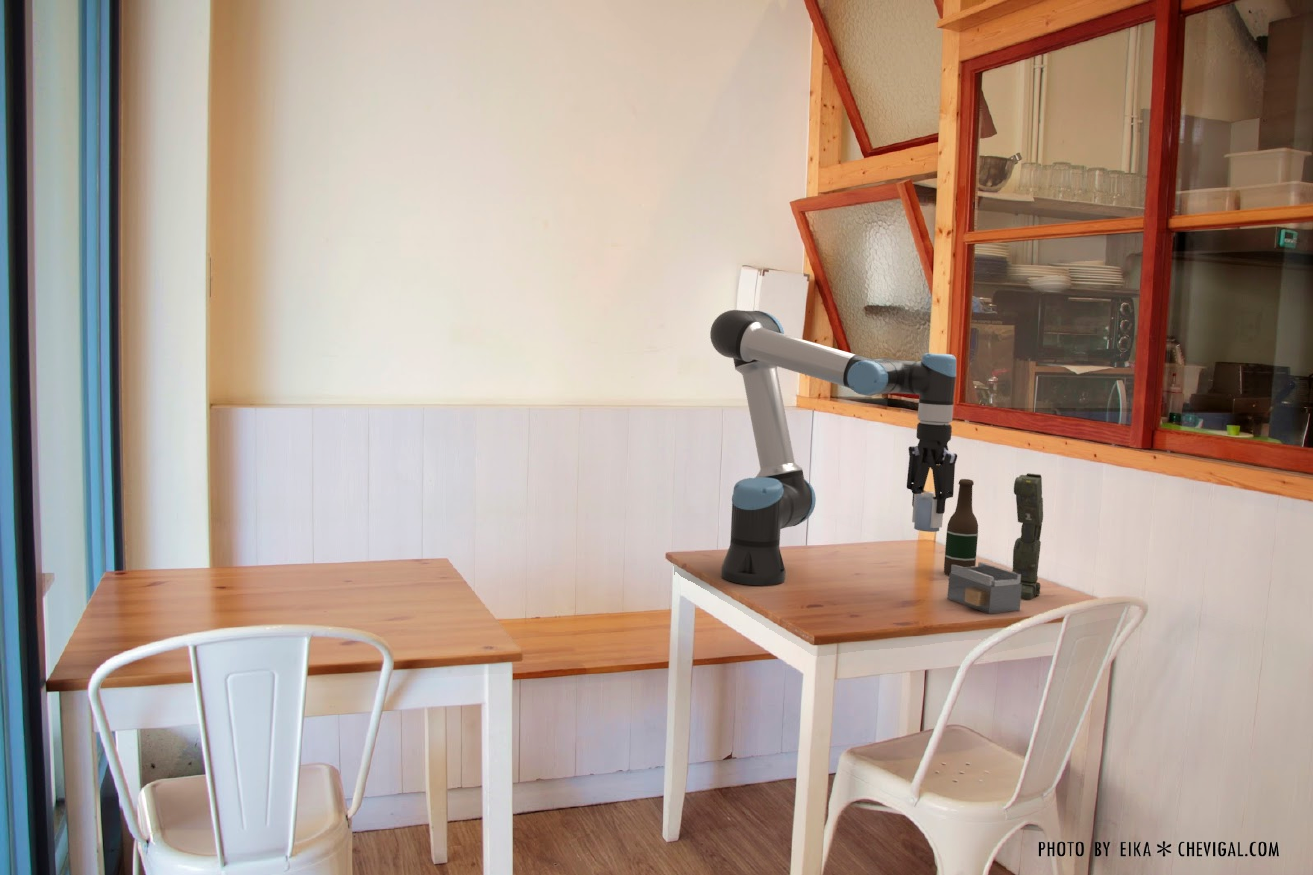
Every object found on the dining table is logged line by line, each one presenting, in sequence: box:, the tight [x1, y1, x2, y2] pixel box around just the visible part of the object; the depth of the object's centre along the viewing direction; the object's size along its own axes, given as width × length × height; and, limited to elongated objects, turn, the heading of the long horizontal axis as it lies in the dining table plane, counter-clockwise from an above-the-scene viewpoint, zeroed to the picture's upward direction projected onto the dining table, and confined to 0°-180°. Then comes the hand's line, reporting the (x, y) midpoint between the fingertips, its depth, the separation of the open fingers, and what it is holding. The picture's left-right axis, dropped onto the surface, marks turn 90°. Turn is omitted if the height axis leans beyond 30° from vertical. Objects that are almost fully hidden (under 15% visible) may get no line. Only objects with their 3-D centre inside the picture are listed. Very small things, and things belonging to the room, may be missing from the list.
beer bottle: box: [943, 478, 979, 576], centre depth 262 cm, size 8×8×24 cm
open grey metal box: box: [946, 561, 1022, 615], centre depth 236 cm, size 15×11×8 cm
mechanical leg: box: [1012, 472, 1044, 601], centre depth 245 cm, size 14×7×30 cm, turn 149°
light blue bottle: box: [913, 490, 940, 533], centre depth 238 cm, size 6×6×8 cm
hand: (926, 524), depth 239 cm, fingers closed on light blue bottle, 5 cm apart
